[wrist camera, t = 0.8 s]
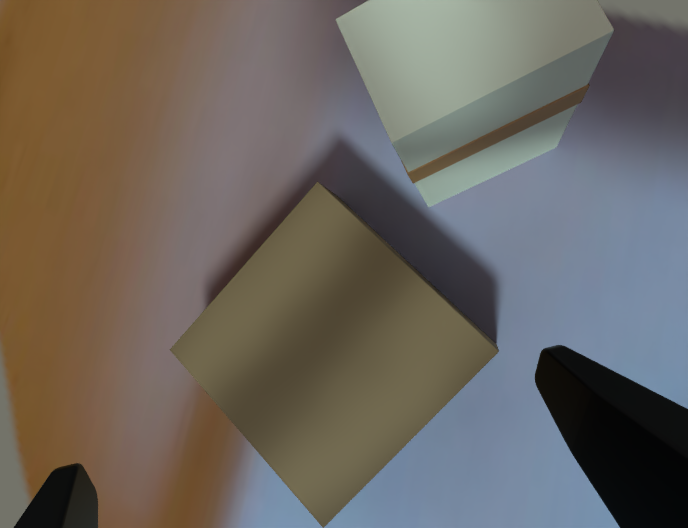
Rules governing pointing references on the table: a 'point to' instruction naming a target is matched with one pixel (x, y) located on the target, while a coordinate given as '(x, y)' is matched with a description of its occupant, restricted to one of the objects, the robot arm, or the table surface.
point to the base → (330, 352)
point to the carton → (474, 80)
